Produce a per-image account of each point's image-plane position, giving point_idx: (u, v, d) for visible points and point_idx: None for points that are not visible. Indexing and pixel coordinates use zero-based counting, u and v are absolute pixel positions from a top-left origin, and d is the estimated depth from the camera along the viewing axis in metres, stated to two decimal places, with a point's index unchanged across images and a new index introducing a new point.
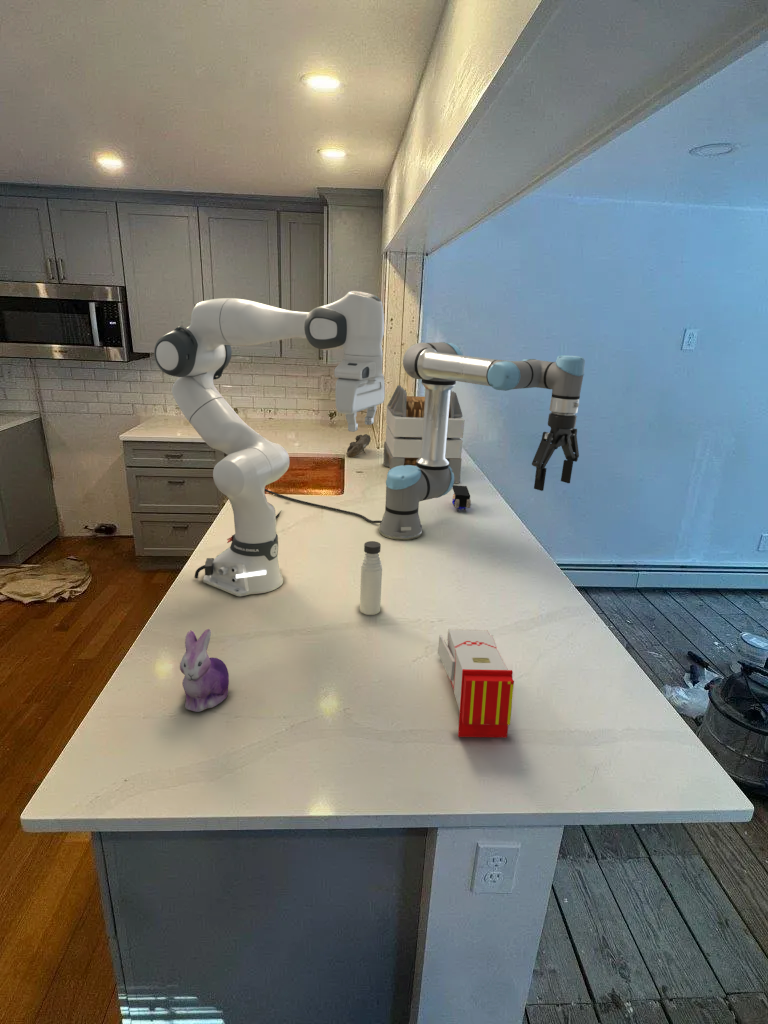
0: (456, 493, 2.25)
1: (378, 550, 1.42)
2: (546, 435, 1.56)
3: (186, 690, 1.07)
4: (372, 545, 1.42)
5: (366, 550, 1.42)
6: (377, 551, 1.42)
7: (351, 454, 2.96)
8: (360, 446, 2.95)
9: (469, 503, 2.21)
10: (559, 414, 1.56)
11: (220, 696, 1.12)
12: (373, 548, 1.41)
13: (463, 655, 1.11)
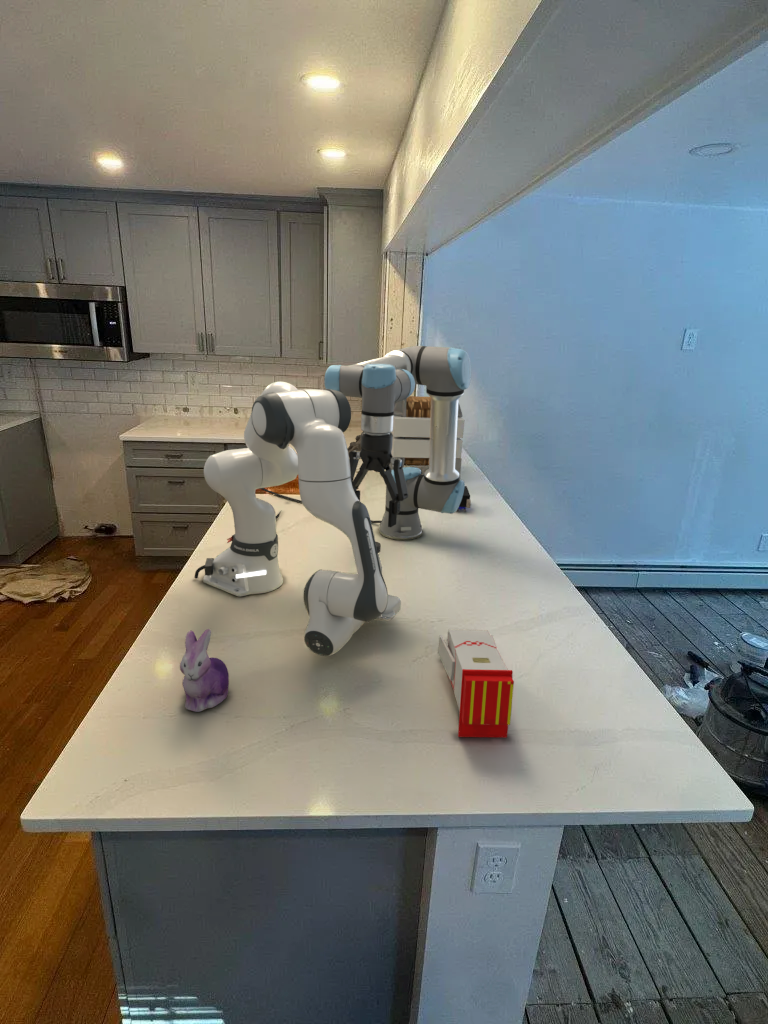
0: None
1: (378, 550, 1.42)
2: (401, 462, 1.32)
3: (186, 690, 1.07)
4: None
5: None
6: (377, 551, 1.42)
7: None
8: (360, 446, 2.95)
9: (469, 503, 2.21)
10: (389, 433, 1.32)
11: (220, 696, 1.12)
12: None
13: (463, 655, 1.11)
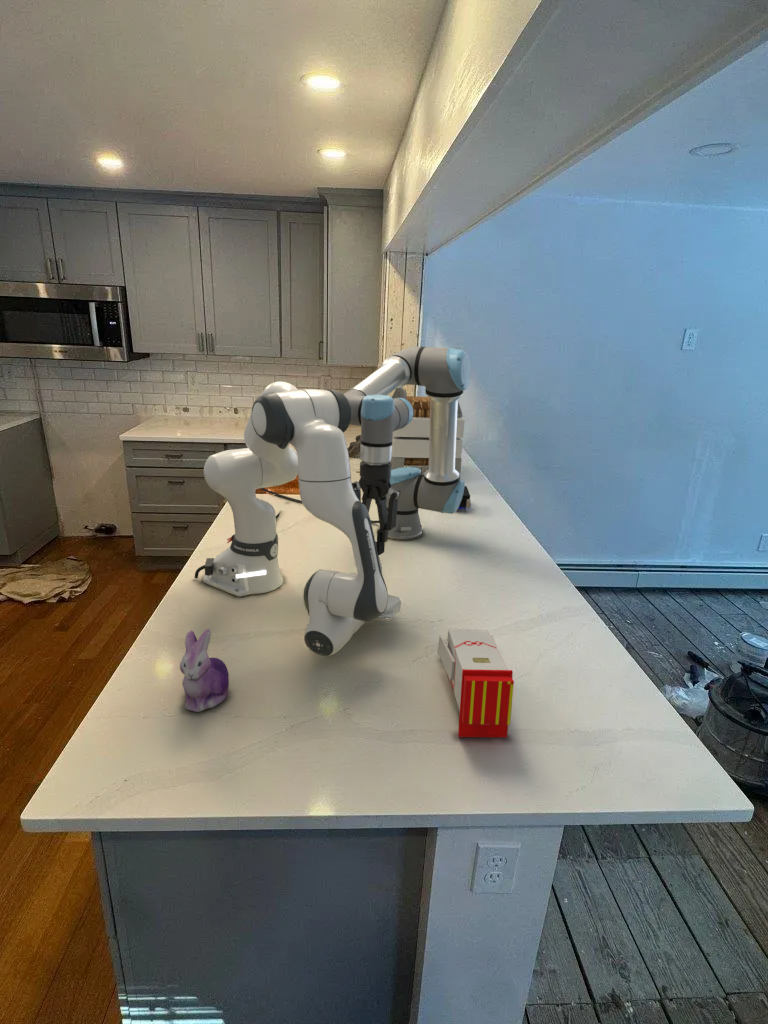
0: None
1: None
2: (397, 496, 1.35)
3: (186, 690, 1.07)
4: None
5: None
6: None
7: (351, 454, 2.96)
8: (360, 446, 2.95)
9: (469, 503, 2.21)
10: (388, 462, 1.35)
11: (220, 696, 1.12)
12: None
13: (463, 655, 1.11)
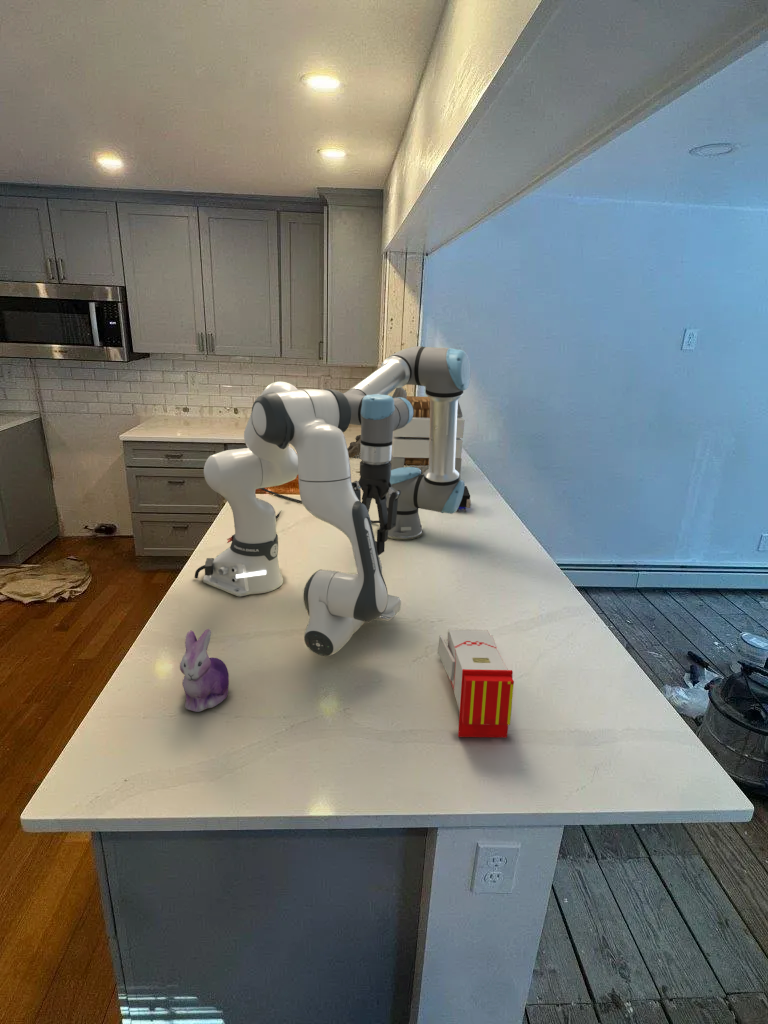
0: None
1: None
2: (398, 495, 1.35)
3: (186, 690, 1.07)
4: None
5: None
6: None
7: (351, 454, 2.96)
8: None
9: (469, 503, 2.21)
10: (388, 462, 1.35)
11: (220, 696, 1.12)
12: None
13: (463, 655, 1.11)
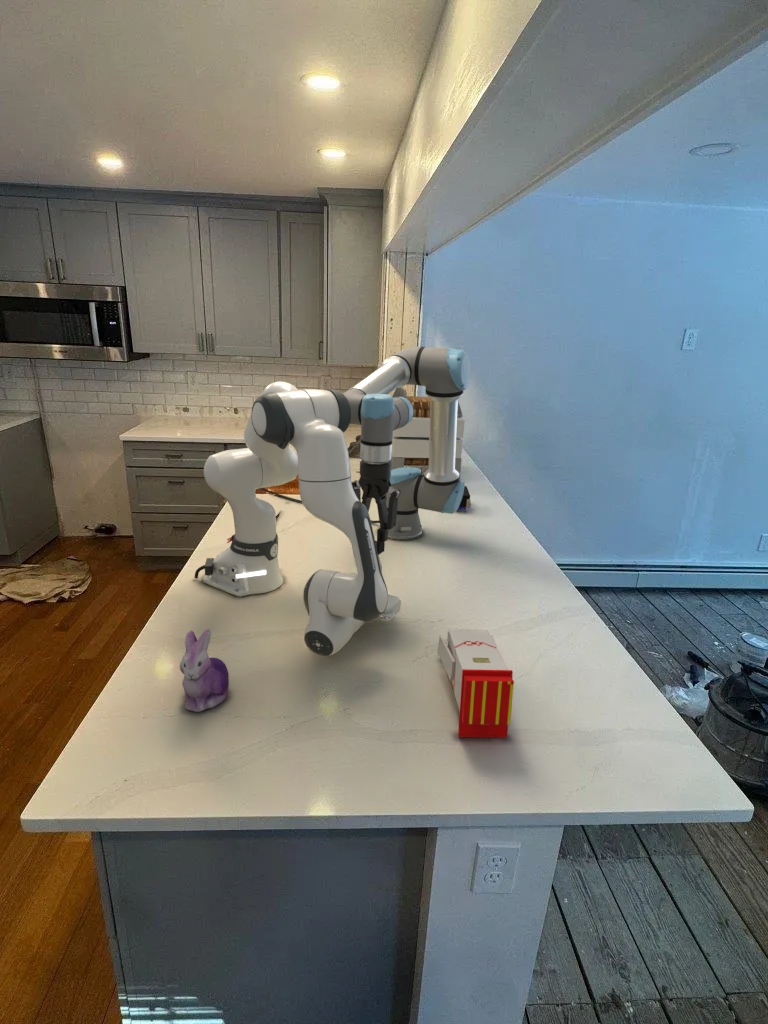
0: None
1: None
2: (398, 495, 1.35)
3: (186, 690, 1.07)
4: None
5: None
6: None
7: (351, 454, 2.96)
8: None
9: (469, 503, 2.21)
10: (388, 461, 1.35)
11: (220, 696, 1.12)
12: None
13: (463, 655, 1.11)
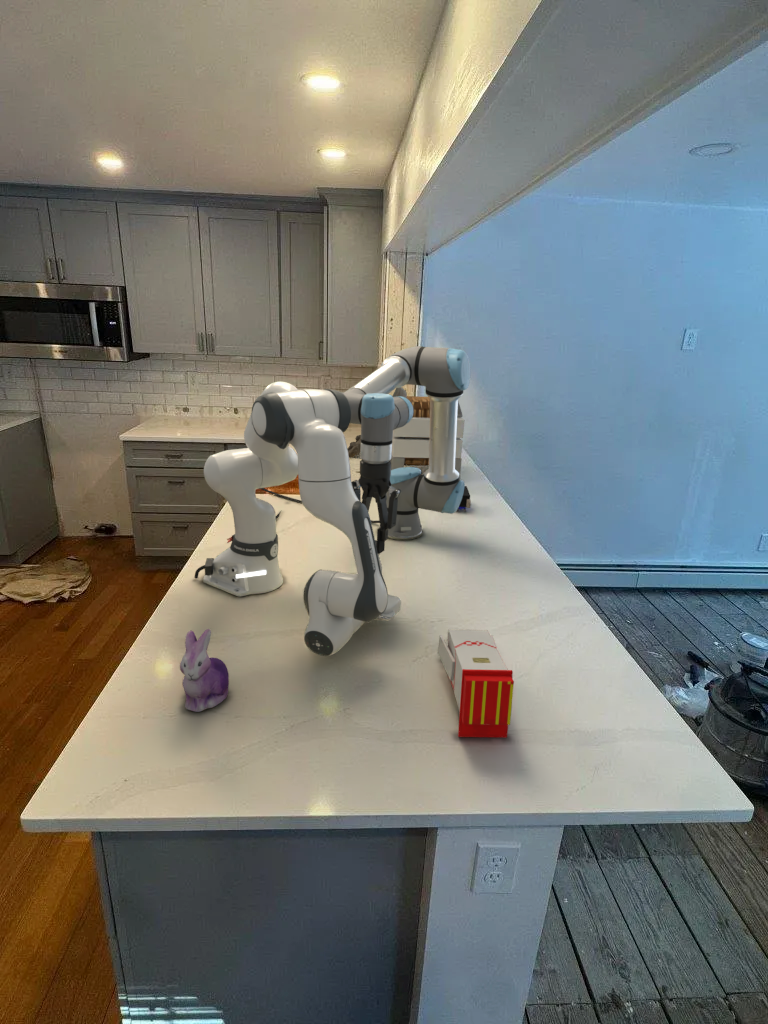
0: None
1: None
2: (398, 494, 1.35)
3: (186, 690, 1.07)
4: None
5: None
6: None
7: (351, 454, 2.96)
8: None
9: (469, 503, 2.21)
10: (388, 461, 1.35)
11: (220, 696, 1.12)
12: None
13: (463, 655, 1.11)
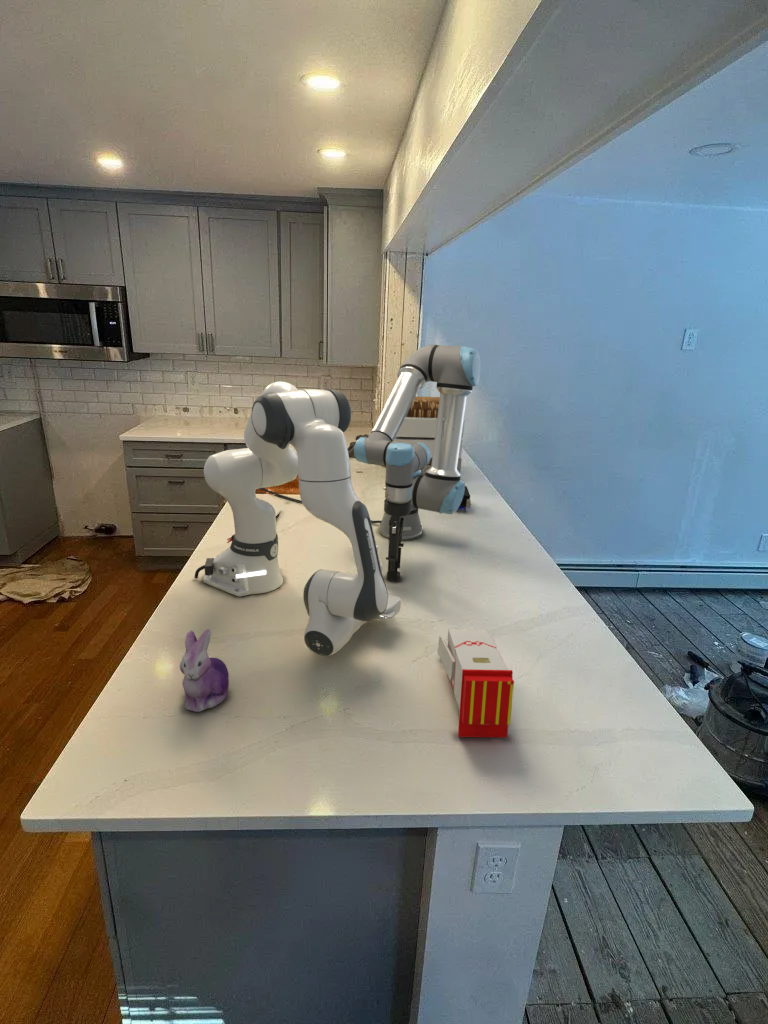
0: None
1: None
2: None
3: (186, 690, 1.07)
4: None
5: (398, 579, 1.65)
6: None
7: (351, 454, 2.96)
8: None
9: (469, 503, 2.21)
10: None
11: (220, 696, 1.12)
12: (400, 574, 1.66)
13: (463, 655, 1.11)
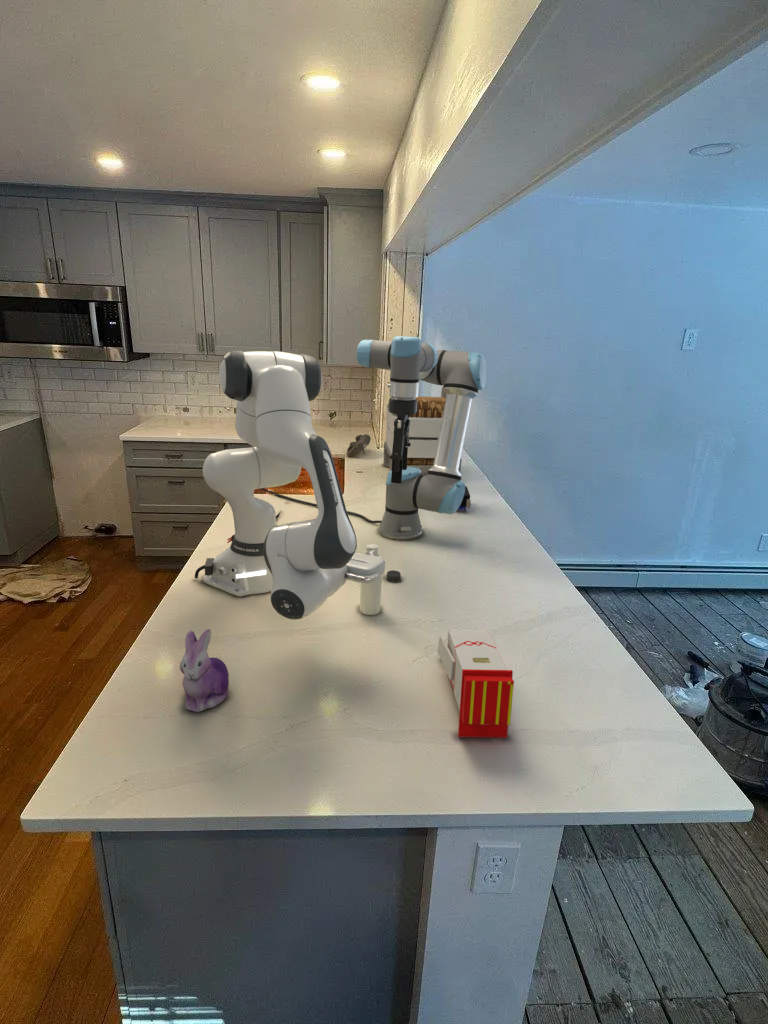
0: None
1: None
2: None
3: (186, 690, 1.07)
4: (396, 573, 1.66)
5: (398, 579, 1.65)
6: None
7: (351, 454, 2.96)
8: (360, 446, 2.95)
9: (469, 503, 2.21)
10: None
11: (220, 696, 1.12)
12: (400, 574, 1.66)
13: (463, 655, 1.11)
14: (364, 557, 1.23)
